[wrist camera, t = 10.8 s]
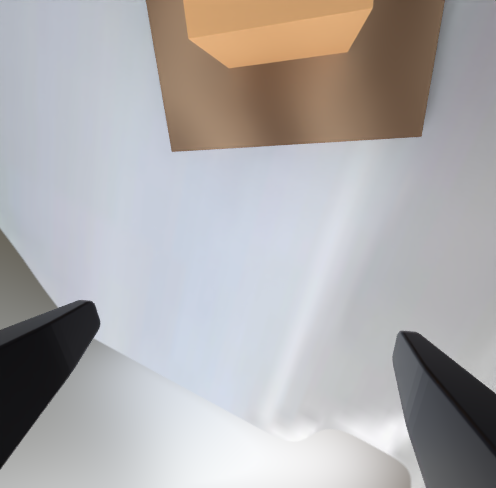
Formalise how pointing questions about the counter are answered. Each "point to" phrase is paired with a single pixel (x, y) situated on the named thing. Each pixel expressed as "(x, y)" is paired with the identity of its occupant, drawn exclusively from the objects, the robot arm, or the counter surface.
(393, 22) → the post board
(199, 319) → the counter surface
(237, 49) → the peach wooden cube
